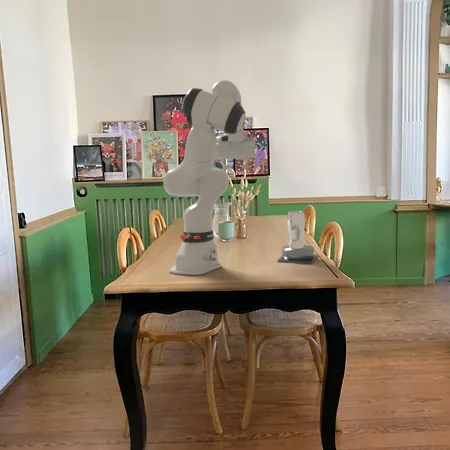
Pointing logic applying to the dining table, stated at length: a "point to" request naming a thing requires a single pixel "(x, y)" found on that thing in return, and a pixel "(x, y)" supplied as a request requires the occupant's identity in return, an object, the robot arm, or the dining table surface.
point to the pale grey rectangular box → (296, 229)
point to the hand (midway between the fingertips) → (234, 169)
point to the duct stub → (298, 255)
